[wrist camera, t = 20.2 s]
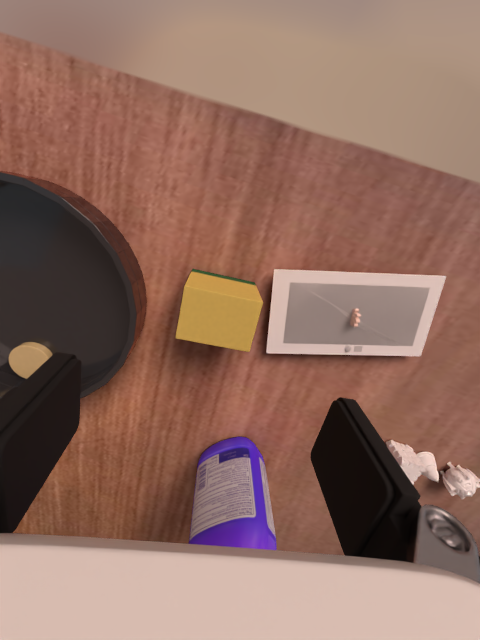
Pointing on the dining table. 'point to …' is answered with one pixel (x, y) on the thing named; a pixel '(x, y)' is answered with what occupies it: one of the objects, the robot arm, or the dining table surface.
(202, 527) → the bottle
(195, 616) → the robot arm
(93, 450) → the dining table surface
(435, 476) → the game pieces
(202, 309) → the sponge
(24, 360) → the disc
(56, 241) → the pan
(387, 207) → the dining table surface
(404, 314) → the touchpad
